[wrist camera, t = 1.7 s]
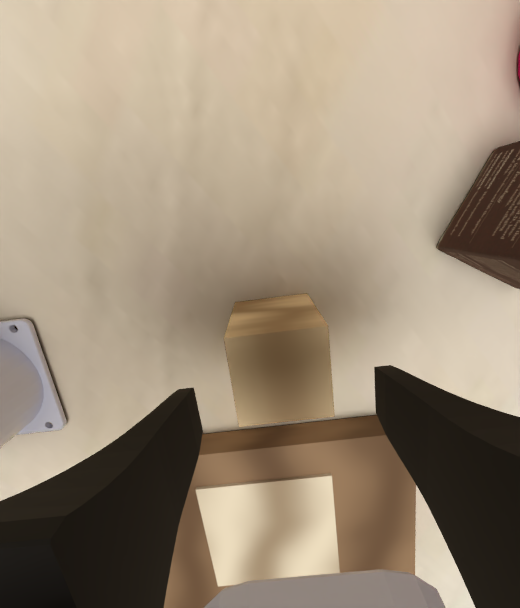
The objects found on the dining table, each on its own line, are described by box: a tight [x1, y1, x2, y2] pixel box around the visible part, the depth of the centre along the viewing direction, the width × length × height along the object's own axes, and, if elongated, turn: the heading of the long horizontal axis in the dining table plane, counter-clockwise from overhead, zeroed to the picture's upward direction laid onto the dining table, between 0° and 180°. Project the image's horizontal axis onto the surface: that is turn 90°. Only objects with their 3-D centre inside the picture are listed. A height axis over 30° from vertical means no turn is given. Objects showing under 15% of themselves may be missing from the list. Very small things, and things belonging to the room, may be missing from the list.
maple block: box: [224, 293, 335, 427], centre depth 16 cm, size 4×4×6 cm
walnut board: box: [164, 415, 416, 608], centre depth 22 cm, size 20×14×2 cm
